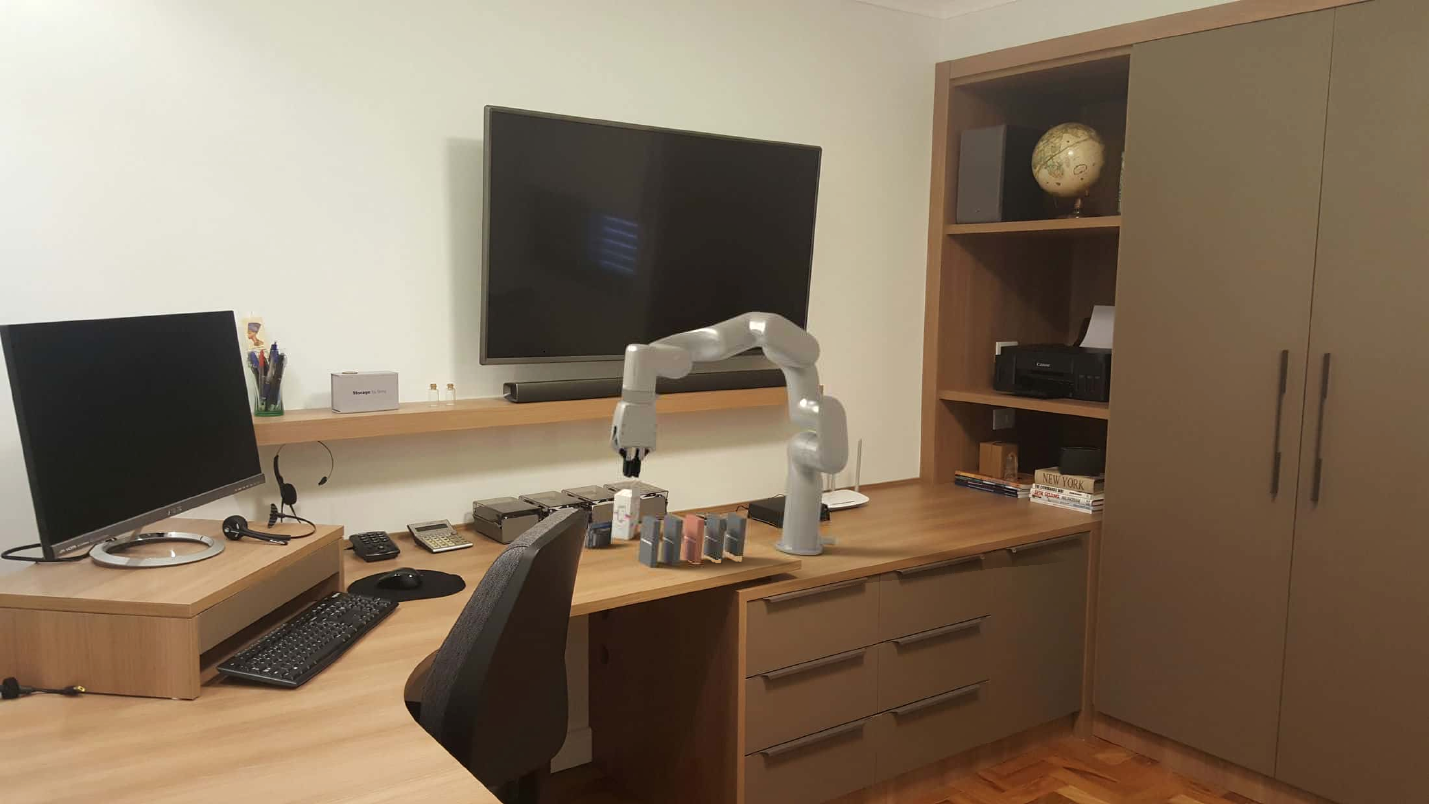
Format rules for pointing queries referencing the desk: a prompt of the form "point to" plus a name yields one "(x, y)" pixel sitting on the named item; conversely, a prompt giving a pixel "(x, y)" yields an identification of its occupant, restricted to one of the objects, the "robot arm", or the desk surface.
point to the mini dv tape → (598, 534)
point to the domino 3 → (693, 538)
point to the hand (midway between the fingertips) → (630, 476)
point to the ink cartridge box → (626, 512)
